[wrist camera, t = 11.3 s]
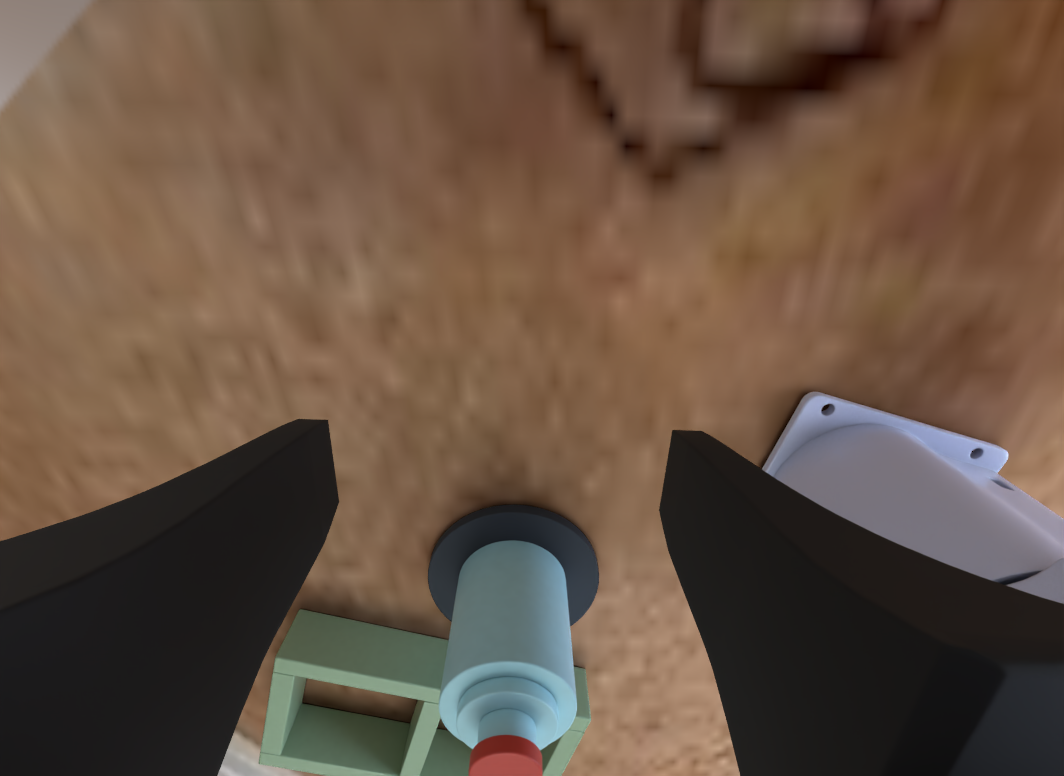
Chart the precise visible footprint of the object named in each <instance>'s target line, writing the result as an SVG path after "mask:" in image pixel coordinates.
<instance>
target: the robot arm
mask: <svg viewBox="0 0 1064 776" xmlns="http://www.w3.org/2000/svg"><path fill="white" fill-rule="evenodd" d="M827 404H830V405H829V407H828V408H827V410H825V411H821V410H822V408H823V407H824V405H827ZM974 449H975V450H974ZM973 450H974V451H973ZM972 451H973V452H972ZM971 452H972V453H971ZM1007 459H1008V452H1007V451H1006V450H1004V449H1003V448H1001V447H1000V446H998V445H995V444H991V443H988V442H985V441H981V440H978V439H975V438H971V437H968V436H965V435H961V434H958V433H955V432H951V431H948V430H945V429H941V428H938V427H934V426H931V425H928V424H924V423H921V422H918V421H914V420H911V419H908V418H904V417H901V416H898V415H894V414H891V413H888V412H884V411H881V410H878V409H874V408H871V407H868V406H864V405H861V404H858V403H854V402H851V401H847V400H844V399H841V398H837V397H834V396H831V395H827V394H824V393H821V392H810V393H808V394H807V395H805V396H804V397H803V398H802V400H801V401H800V403H799V405H798V407H797V408H796V410H795V412H794V414H793V415H792V417H791V419H790V421H789V422H788V424H787V426H786V428H785V429H784V431H783V433H782V435H781V436H780V438H779V440H778V442H777V444H776V445H775V447H774V449H773V451H772V452H771V454H770V456H769V458H768V459H767V461H766V463H765V465H764V466H763V468H762V469H760V468H759V467H757V466H756V465H754V464H753V463H751V462H750V461H748V460H747V459H745V458H744V457H742V456H741V455H739V454H738V453H736V452H735V451H733V450H732V449H730V448H729V447H727V446H726V445H724V444H723V443H721V442H720V441H718V440H717V439H715V438H713V437H712V436H710V435H708V434H706V433H704V432H703V431H686V430H672V436H671V442H670V448H669V454H668V460H667V466H666V472H665V478H664V484H663V491H662V497H661V503H660V509H659V511H660V516H661V520H662V525H663V530H664V534H665V538H666V542H667V547H668V551H669V554H670V556H671V559H672V562H673V565H674V567H675V570H676V572H677V575H678V578H679V580H680V583H681V586H682V588H683V591H684V593H685V596H686V599H687V601H688V604H689V606H690V609H691V612H692V614H693V617H694V619H695V622H696V625H697V627H698V630H699V632H700V635H701V637H702V640H703V643H704V645H705V648H706V651H707V654H708V657H709V660H710V663H711V666H712V669H713V672H714V676H715V679H716V683H717V687H718V690H719V694H720V698H721V701H722V705H723V709H724V712H725V716H726V720H727V724H728V728H729V732H730V736H731V740H732V744H733V748H734V752H735V756H736V760H737V764H738V768H739V772H740V776H1064V519H1063V518H1062V517H1060V516H1059V515H1057V514H1056V513H1054V512H1053V511H1051V510H1050V509H1048V508H1047V507H1045V506H1044V505H1043V504H1041V503H1040V502H1038V501H1037V500H1035V499H1034V498H1032V497H1031V496H1029V495H1028V494H1026V493H1025V492H1024V491H1022V490H1021V489H1019V488H1018V487H1016V486H1015V485H1013V484H1012V483H1010V482H1009V481H1007V480H1006V479H1005V478H1003V477H1002V476H1000V475H999V474H997V473H998V471H999V470H1000V469H1001V468H1002V466H1003V465H1004V464H1005V463H1006V461H1007ZM338 503H339V498H338V491H337V483H336V476H335V469H334V461H333V454H332V447H331V439H330V432H329V425H328V420H311V419H297V420H295V421H292V422H289V423H287V424H285V425H282V426H280V427H278V428H276V429H274V430H272V431H270V432H268V433H266V434H264V435H262V436H260V437H258V438H256V439H254V440H252V441H250V442H248V443H246V444H244V445H242V446H240V447H238V448H236V449H234V450H232V451H230V452H228V453H226V454H224V455H222V456H220V457H218V458H216V459H214V460H212V461H210V462H208V463H206V464H204V465H202V466H200V467H197V468H195V469H193V470H191V471H189V472H187V473H185V474H182V475H180V476H178V477H176V478H174V479H172V480H170V481H167V482H165V483H163V484H161V485H159V486H156V487H154V488H152V489H149V490H147V491H145V492H142V493H140V494H137V495H135V496H132V497H130V498H127V499H125V500H122V501H120V502H117V503H114V504H112V505H109V506H106V507H104V508H101V509H99V510H96V511H93V512H90V513H88V514H85V515H82V516H79V517H76V518H73V519H70V520H67V521H63V522H60V523H57V524H54V525H51V526H48V527H45V528H42V529H39V530H35V531H32V532H29V533H26V534H23V535H20V536H17V537H14V538H10V539H7V540H4V541H0V776H217V775H218V772H219V770H220V767H221V764H222V762H223V759H224V756H225V754H226V751H227V749H228V746H229V743H230V741H231V738H232V736H233V733H234V730H235V728H236V725H237V722H238V720H239V717H240V715H241V712H242V710H243V707H244V705H245V702H246V700H247V698H248V695H249V693H250V690H251V688H252V685H253V683H254V681H255V678H256V676H257V673H258V671H259V668H260V666H261V664H262V661H263V659H264V657H265V655H266V653H267V651H268V649H269V647H270V645H271V643H272V640H273V638H274V637H275V635H276V633H277V631H278V629H279V627H280V625H281V624H282V622H283V620H284V618H285V616H286V614H287V612H288V610H289V609H290V607H291V605H292V603H293V601H294V599H295V597H296V596H297V594H298V592H299V590H300V588H301V586H302V584H303V583H304V581H305V579H306V577H307V575H308V573H309V571H310V569H311V568H312V566H313V564H314V562H315V560H316V558H317V556H318V554H319V552H320V550H321V548H322V546H323V544H324V542H325V540H326V537H327V534H328V532H329V529H330V526H331V524H332V521H333V518H334V515H335V512H336V509H337V506H338Z"/></svg>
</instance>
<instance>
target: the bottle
mask: <svg viewBox="0 0 1064 776" xmlns="http://www.w3.org/2000/svg"><path fill="white" fill-rule="evenodd" d="M576 711H577V699H576V688H575V677H574V665H573V654H572V643H571V632H570V621H569V609H568V598H567V587H566V578H565V573H564V570H563V568H562V566H561V564H560V563H559V561H558V560H557V559H556V558H555V557H554V556H553V555H552V554H551V553H550V552H548V551H547V550H545V549H544V548H542V547H540V546H538V545H535V544H532V543H529V542H524V541H515V540H509V541H499V542H495V543H491V544H489V545H486V546H484V547H482V548H480V549H478V550H477V551H475V552H474V553H473V554H472V555H471V556H470V557H469V558H468V559H467V560H466V561H465V563H464V564H463V566H462V568H461V571H460V574H459V579H458V586H457V592H456V598H455V604H454V610H453V616H452V623H451V629H450V635H449V641H448V647H447V654H446V660H445V666H444V672H443V678H442V684H441V691H440V697H439V713H440V717H441V719H442V721H443V723H444V725H445V727H446V728H447V729H448V730H449V731H450V732H451V733H452V734H453V735H454V736H455V737H456V738H458V739H459V740H461V741H463V742H464V743H465V744H466V745H467V746H469V747H470V748H472V749H473V750H472V752H471V754H470V762H469V772H468V774H469V776H542V775H543V770H542V754H541V752H540V750H542V749H543V748H545V747H546V746H547V745H548V744H550V743H552V742H554V741H555V740H557V739H558V738H560V737H561V736H562V735H563V734H564V733H565V732H566V731H567V730H568V729H569V728H570V726H571V725H572V723H573V721H574V718H575V716H576Z"/></svg>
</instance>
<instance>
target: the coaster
mask: <svg viewBox="0 0 1064 776" xmlns="http://www.w3.org/2000/svg"><path fill="white" fill-rule="evenodd" d="M509 540H515V541H524V542H529V543H532V544H535V545H538V546H540V547H542V548H544V549H545V550H547V551H548V552H550V553H551V554H552V555H553V556H554V557H555V558H556V559H557V560H558V561H559V563H560V564H561V566H562V568H563V570H564V573H565V578H566V587H567V598H568V609H569V621H570V626H572V625H573V624H574V623H576V622H577V621H578V620H579V619H580V618H581V617H582V616H583V615H584V614H585V613H586V611H587V610H588V609H589V607H590V606H591V604H592V602H593V600H594V598H595V595H596V593H597V589H598V584H599V572H598V565H597V559H596V556H595V553H594V550H593V548H592V546H591V544H590V542H589V541H588V539H587V538H586V537H585V535H584V534H583V533H582V532H581V531H580V530H579V529H578V528H577V527H576V526H575V525H573V524H572V523H571V522H570V521H568V520H567V519H565V518H563V517H561V516H560V515H558V514H555V513H553V512H551V511H548V510H545V509H541V508H538V507H533V506H527V505H500V506H493V507H489V508H485V509H481V510H479V511H476V512H473V513H471V514H469V515H467V516H465V517H463V518H461V519H460V520H459V521H457V522H456V523H454V524H453V525H452V526H451V527H450V528H449V529H448V530H446V531H445V533H444V534H443V535H442V536H441V538H440V539H439V541H438V542H437V544H436V546H435V548H434V550H433V553H432V556H431V560H430V565H429V570H428V583H429V589H430V592H431V595H432V598H433V600H434V602H435V604H436V605H437V607H438V608H439V609H440V611H441V612H442V613H443V614H444V615H445V616H446V618H447V619H449V620H450V621H451V622H452V616H453V610H454V604H455V598H456V592H457V586H458V579H459V574H460V571H461V568H462V566H463V564H464V563H465V561H466V560H467V559H468V558H469V557H470V556H471V555H472V554H473V553H474V552H475V551H477V550H478V549H480V548H482V547H484V546H486V545H489V544H491V543H495V542H499V541H509Z"/></svg>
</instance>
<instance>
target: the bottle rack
mask: <svg viewBox="0 0 1064 776" xmlns="http://www.w3.org/2000/svg"><path fill="white" fill-rule="evenodd" d="M448 641H449V640H446V639H441V638H436V637H431V636H426V635H422V634H417V633H412V632H407V631H403V630H398V629H393V628H388V627H384V626H379V625H374V624H369V623H365V622H360V621H355V620H350V619H346V618H341V617H336V616H331V615H327V614H322V613H317V612H312V611H308V610H303V609H300V610H299V611H298V613H297V615H296V617H295V619H294V621H293V623H292V625H291V627H290V629H289V631H288V633H287V635H286V637H285V639H284V641H283V643H282V645H281V647H280V649H279V651H278V653H277V655H276V657H275V663H274V669H273V675H272V681H271V688H270V694H269V700H268V707H267V713H266V720H265V726H264V732H263V739H262V745H261V752H260V758H259V764H262V765H268V766H273V767H279V768H285V769H291V770H297V771H303V772H308V773H314V774H320V775H326V776H469V774H468V772H469V762H470V754H471V752H472V750H473V749H472V748H470V747H469V746H467V745H466V744H465V743H464V742H463V741H461V740H459V739H458V738H456V737H455V736H454V735H453V734H452V733H451V732H450V731H447V730H442V729H437V726H438V723H439V721H440V718H441V717H440V713H439V697H440V691H441V684H442V678H443V672H444V666H445V660H446V654H447V647H448ZM574 677H575V688H576V699H577V711H576V716H575V718H574V721H573V723H572V725H571V726H570V728H569V729H568V730H567V731H566V732H565V733H564V734H563V735H562V736H561V737H560V738H558V739H557V740H555V741H554V742H552V743H550V744H548V745H547V746H546V747H545V748H543V749H542V750H540V752H541V754H542V770H543V775H542V776H561V775H562V773H563V771H564V770H565V768H566V766H567V764H568V762H569V760H570V758H571V757H572V755H573V753H574V751H575V749H576V747H577V745H578V744H579V742H580V740H581V738H582V736H583V734H584V731H585V730H586V728H587V726H588V725H589V723H590V721H591V715H590V706H589V697H588V688H587V679H586V670H585V669H583V668H579V667H574ZM307 678H309V679H314V680H319V681H324V682H330V683H335V684H340V685H345V686H350V687H355V688H360V689H366V690H371V691H376V692H381V693H386V694H391V695H396V696H402V697H407V698H412V699H417V700H418V701H417V704H416V707H415V710H414V713H413V716H412V719H411V722H410V723H404V722H399V721H394V720H388V719H383V718H378V717H372V716H367V715H362V714H356V713H351V712H346V711H340V710H335V709H330V708H324V707H319V706H314V705H308V704H303V703H302V700H303V695H304V690H305V684H306V679H307Z"/></svg>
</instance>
